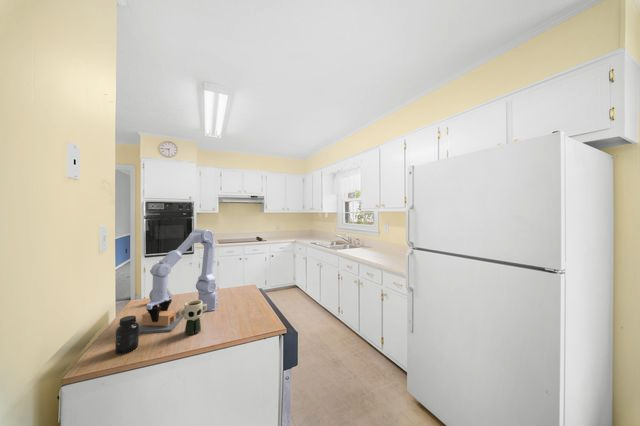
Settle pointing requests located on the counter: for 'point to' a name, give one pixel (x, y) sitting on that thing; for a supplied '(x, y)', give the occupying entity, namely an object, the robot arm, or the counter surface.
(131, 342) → the supplement bottle
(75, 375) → the counter surface
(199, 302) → the character mug
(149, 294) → the donut
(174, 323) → the post board
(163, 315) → the rectangular block
